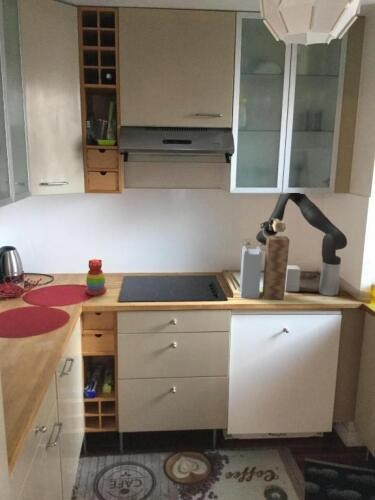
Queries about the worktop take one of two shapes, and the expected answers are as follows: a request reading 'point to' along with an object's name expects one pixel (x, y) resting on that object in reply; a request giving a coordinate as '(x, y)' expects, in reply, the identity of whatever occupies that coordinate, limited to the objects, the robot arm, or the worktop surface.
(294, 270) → the supplement box
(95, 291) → the stacking bear
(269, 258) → the walnut block
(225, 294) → the worktop surface
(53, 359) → the worktop surface
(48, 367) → the worktop surface
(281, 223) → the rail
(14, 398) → the worktop surface
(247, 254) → the holder
